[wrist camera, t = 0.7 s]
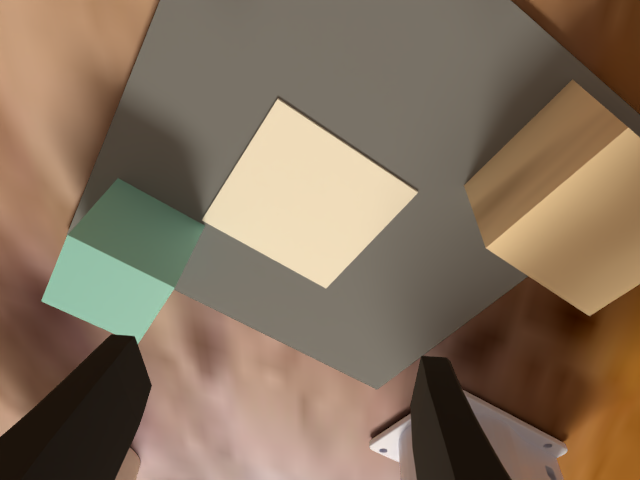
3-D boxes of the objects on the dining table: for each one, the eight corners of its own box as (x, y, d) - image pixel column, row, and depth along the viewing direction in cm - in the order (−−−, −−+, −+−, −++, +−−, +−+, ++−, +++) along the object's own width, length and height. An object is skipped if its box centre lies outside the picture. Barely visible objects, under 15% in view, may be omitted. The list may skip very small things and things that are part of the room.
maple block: (665, 159, 17) (737, 221, 13) (551, 246, 19) (589, 316, 16) (572, 79, 15) (628, 127, 12) (463, 185, 18) (485, 248, 15)
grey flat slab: (682, 153, 17) (688, 158, 16) (377, 385, 26) (377, 391, 26) (253, -227, 12) (250, -231, 11) (69, 232, 21) (65, 237, 21)
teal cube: (205, 225, 20) (174, 287, 17) (170, 280, 22) (137, 344, 19) (118, 178, 19) (67, 235, 16) (90, 240, 21) (41, 301, 18)
